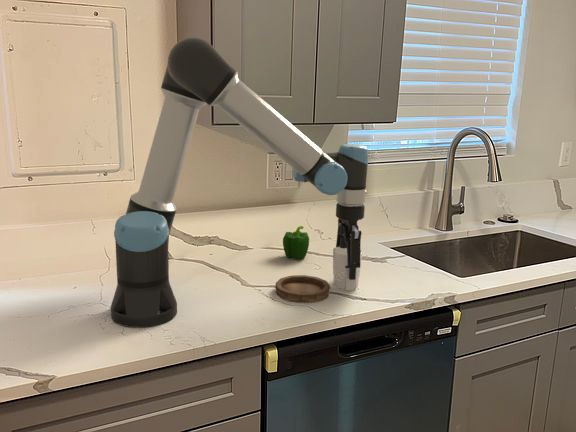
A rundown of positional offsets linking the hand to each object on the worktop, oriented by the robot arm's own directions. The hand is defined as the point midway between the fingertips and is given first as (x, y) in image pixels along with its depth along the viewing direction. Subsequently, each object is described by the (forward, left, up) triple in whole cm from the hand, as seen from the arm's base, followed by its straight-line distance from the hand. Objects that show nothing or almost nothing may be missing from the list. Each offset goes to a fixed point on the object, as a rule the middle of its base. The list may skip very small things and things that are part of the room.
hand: (345, 284), depth 155 cm
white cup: (0, 0, 0) cm, 0 cm away
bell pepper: (-9, +24, -1) cm, 26 cm away
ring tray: (-13, -4, 0) cm, 14 cm away
